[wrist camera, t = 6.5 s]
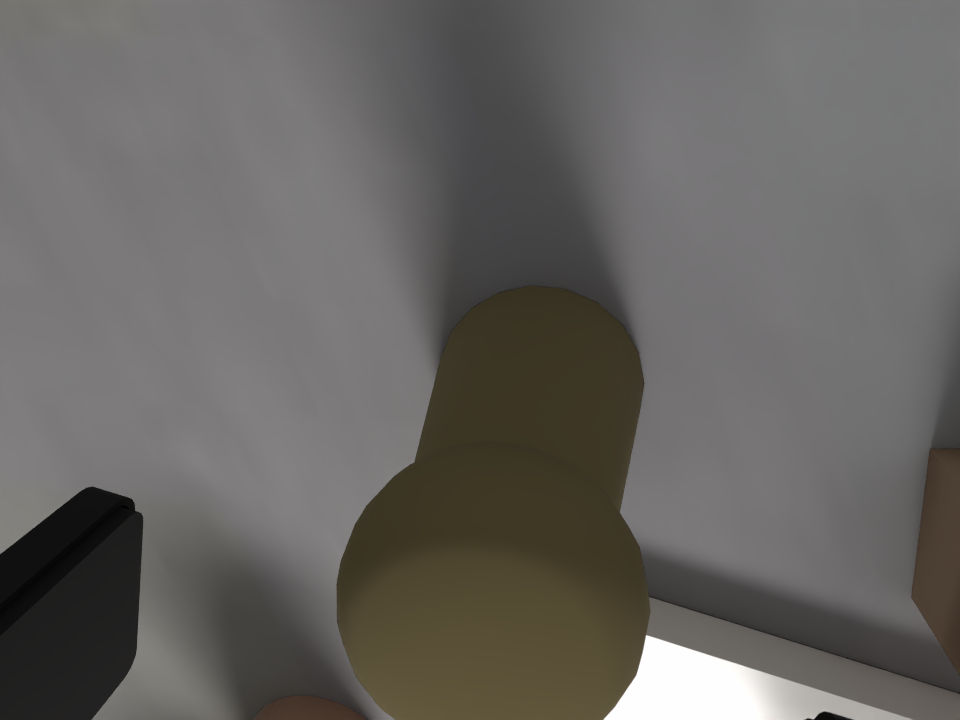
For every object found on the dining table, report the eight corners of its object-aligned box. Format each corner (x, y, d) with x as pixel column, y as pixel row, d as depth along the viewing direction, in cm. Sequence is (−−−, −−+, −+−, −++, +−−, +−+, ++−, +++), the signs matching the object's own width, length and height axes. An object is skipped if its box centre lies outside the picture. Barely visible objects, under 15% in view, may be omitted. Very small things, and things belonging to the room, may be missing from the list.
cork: (645, 475, 21) (686, 840, 10) (449, 475, 22) (315, 804, 12) (643, 280, 19) (691, 496, 8) (427, 290, 20) (240, 492, 10)
